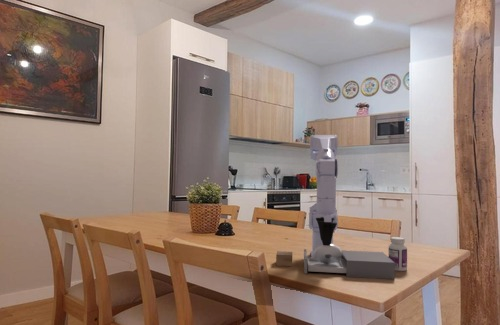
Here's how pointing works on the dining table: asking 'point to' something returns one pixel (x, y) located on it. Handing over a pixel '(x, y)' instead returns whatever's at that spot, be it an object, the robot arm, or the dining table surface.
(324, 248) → the disc
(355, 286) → the dining table surface
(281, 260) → the pedestal
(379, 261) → the block
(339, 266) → the grey shallow open box
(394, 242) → the pill bottle
